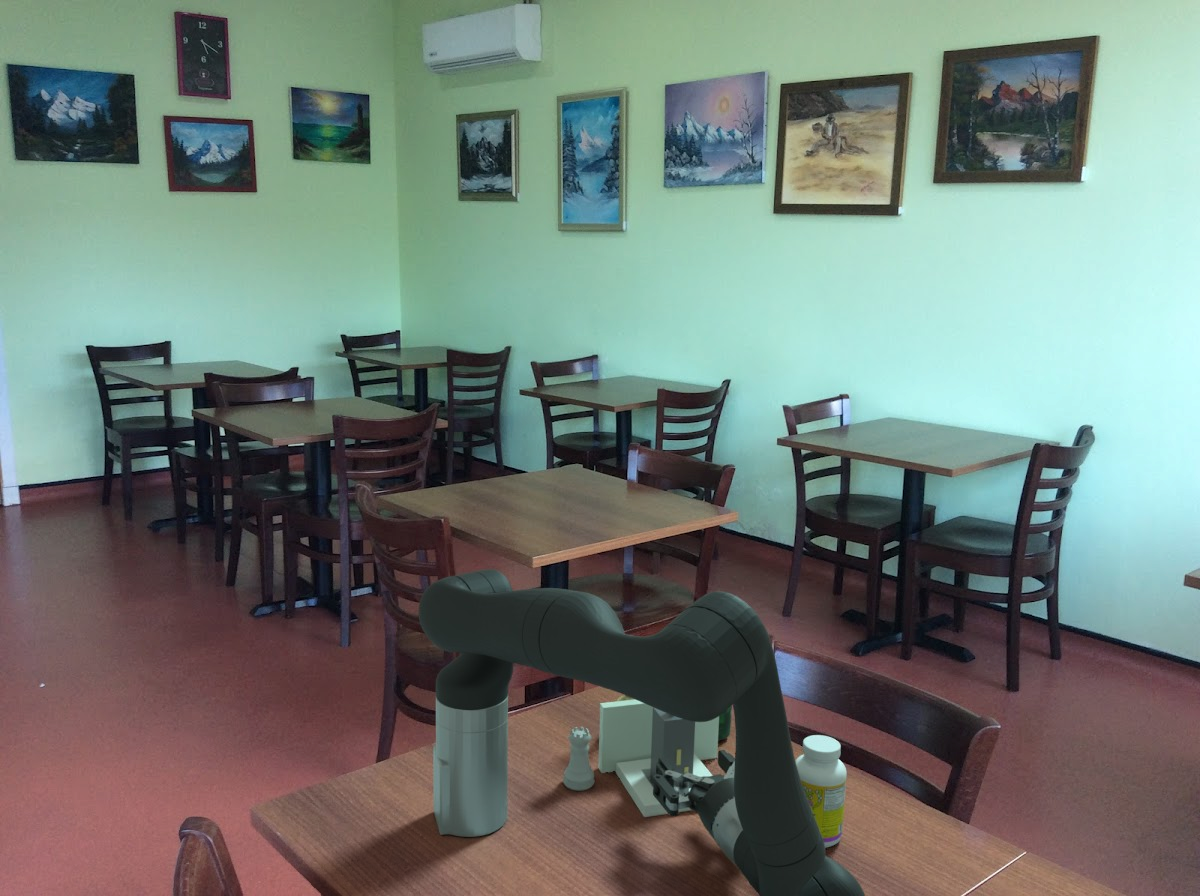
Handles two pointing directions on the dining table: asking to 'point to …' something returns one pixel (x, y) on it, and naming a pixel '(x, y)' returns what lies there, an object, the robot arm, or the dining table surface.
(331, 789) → the dining table surface
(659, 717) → the plug
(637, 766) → the socket
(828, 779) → the supplement bottle
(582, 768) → the rook chess piece
